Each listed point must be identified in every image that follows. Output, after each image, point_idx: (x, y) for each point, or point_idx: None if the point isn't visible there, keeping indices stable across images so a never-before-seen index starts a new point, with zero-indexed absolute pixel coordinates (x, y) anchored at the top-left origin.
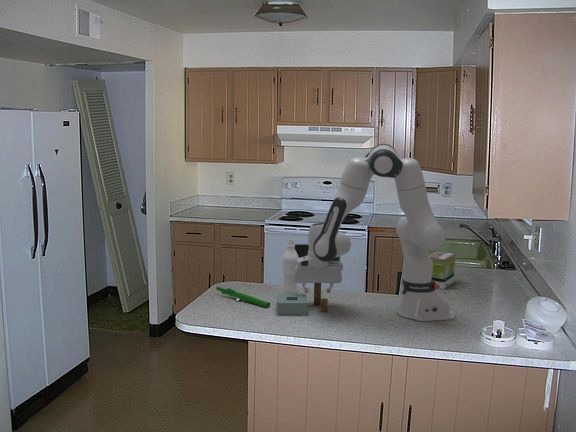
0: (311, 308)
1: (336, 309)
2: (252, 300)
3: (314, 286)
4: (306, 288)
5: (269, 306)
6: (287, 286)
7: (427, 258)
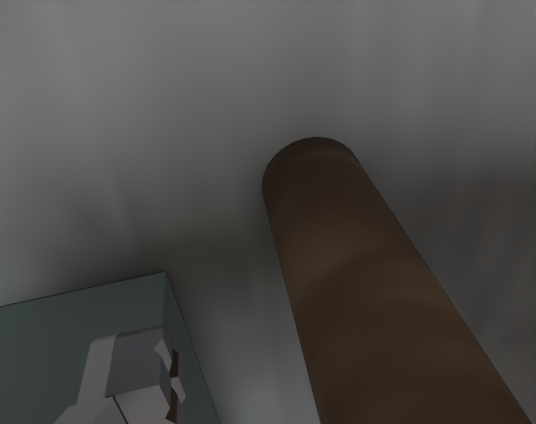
0: (252, 328)
1: (529, 291)
2: None
3: None
4: (135, 417)
5: None
6: None
7: None
